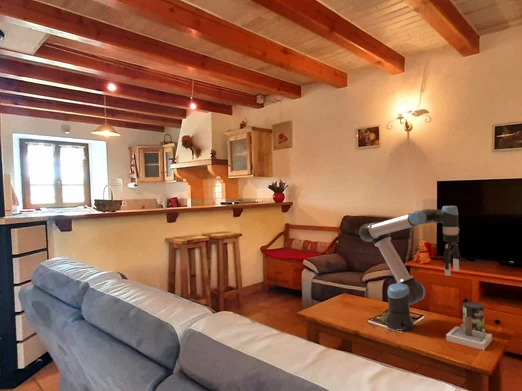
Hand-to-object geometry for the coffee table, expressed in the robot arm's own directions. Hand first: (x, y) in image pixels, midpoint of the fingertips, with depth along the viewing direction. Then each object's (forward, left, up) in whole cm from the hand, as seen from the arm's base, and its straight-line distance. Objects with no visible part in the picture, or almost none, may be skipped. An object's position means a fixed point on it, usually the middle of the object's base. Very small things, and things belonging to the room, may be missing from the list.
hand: (452, 272), depth 190 cm
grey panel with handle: (+9, -6, -31) cm, 33 cm away
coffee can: (+7, +10, -33) cm, 35 cm away
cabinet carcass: (+9, -6, -33) cm, 34 cm away
